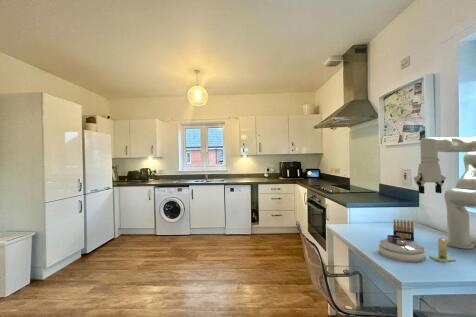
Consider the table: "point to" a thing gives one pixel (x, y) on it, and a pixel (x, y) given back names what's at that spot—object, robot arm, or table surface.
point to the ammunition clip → (404, 230)
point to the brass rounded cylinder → (442, 248)
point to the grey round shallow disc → (401, 245)
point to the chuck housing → (402, 256)
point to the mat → (443, 259)
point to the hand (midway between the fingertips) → (430, 193)
